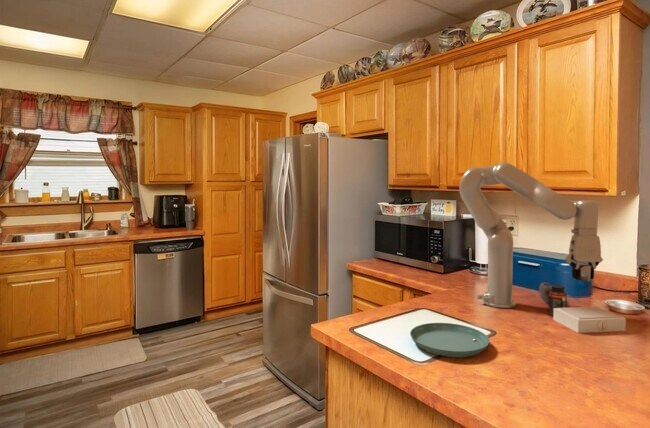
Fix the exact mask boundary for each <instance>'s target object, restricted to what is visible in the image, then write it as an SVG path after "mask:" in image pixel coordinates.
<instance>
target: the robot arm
mask: <svg viewBox="0 0 650 428" xmlns="http://www.w3.org/2000/svg"><path fill="white" fill-rule="evenodd" d="M501 184H502V185H503V186H505V187H506V188H508V189H510V190H511V191H512V192H514V193H516V194H517V195H519V196H521V197H522V198H524V199H525V200H527V201H529V202H531V203H533V204H534V205H535V204H536V205H537V206H539V207H540V208H542V209H544V210H545V211H546V212H549V213H550V214H552V215H553V216H554V217H556V218H557V219H559V220H563V221H565V220H566V221H567V220H568V221H569V220H571V219H574V221H573V229H571V233H572V235H571V239H570V242H569V247H568V248H569V249H568V255H567V256H566V257H565V259H564V261H565V262H566V263H567V264H568V265H569V266H570V268H571V269H572V270H571V272H572V273H571V278H573V279H575V280H576V279H580V269H579V266H580V263H586V264H590V265H591V280H594V278H595V270H596V269H597V267H598V265H599V264H601V263H602V262H603V261H604V259H603V258H602V249H601V247H602V246H601V245H602V244H601V240H600V236H599V235H598V224H599V206H600V205H599V203H598V201H596V200H589V199H586V200H583V199H581V200H570V199H568V198H566V197H564V196H563V195H561V194H560V193H558V192H556V191H554V190H553V189H551V188H550V187H548V186H547V185H545V184H544V183H543V182H542V181H540V180H538V179H536V178H535V177H533V176H531V175H530V174H528V173H526V172H524V171H523V170H521V169H520V168H518V167H517V166H515V165H513V164H511V163H510V162H500V163H499V164H495V165H489V166H482V167H471V168H468V170H466V171H465V172H464V173H463V175H462V177H461V179H460V181H459V186H458V189H459V195H460V198H461V199H462V201H463V203H464V206H465V207H466V209H467V210H468V212H469V215H471V217H472V218H473V220H474V222H475V224H476V226H477V227H478V228H480V229H481V230H482V231H483V234H484V235H485V236H486V237H487V239H488V240H487V291H484V293H483V294H476V295H475V296H476V297H475V298H476V299H477V300H482V301H483V304H485V305H487V306H489V307H493V308H498V309H499V308H500V309H511V308H515V307H516V306H517V302H516V301H515V300H513V267H514V266H513V265H514V264H513V262H514V261H513V260H514V259H513V258H514V257H513V256H514V237H513V234H512V232H511V230H510V229H509V227H508V226H507V224H506V223H505V222H504V219H503V218H502V216H501V215H500V213H499V212H498V211H497V209H495V208H493V207H492V206H491V204H490V203H489V201H488V200H487V198H486V196H485V195H484V193H483V191H482V189H481V188H482V187H486V186H494V185H495V186H496V185H501Z"/></svg>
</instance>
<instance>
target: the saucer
mask: <svg viewBox="0 0 650 428" xmlns="http://www.w3.org/2000/svg"><path fill="white" fill-rule="evenodd" d="M410 337H411V340H412V341H413V342H414V344H415V345H417V347H420V349H422V350H424V351H425V352H428V353H430V354H432V353H433V355H435V354H436V356H439V355H441V356H440V357H445V356H446V357H445V358H455V357H460V358H467V357H468V356H469V357H472V356H475V355H478V354H480V353H482V352H483V351H485V349H487V347H488V345H489V343H490V338H489V336H488V335H486V334H485V333H484V332H483V331H481V330H478V329H476V328H473V327H471V326H467V325H463V324H459V323H458V324H456V323H451V322H431V323H429V322H428V323H423V324H419V325H417V326H414V327H413V328H412V329H411V330H410ZM473 339H475V340H477V341H478V342H473Z"/></svg>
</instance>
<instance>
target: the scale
mask: <svg viewBox="0 0 650 428" xmlns="http://www.w3.org/2000/svg"><path fill="white" fill-rule="evenodd" d="M552 316H553V317H552V320H553V321H555V322H556V323H559V324H561V325H563V326H564V327H566V328H568V329H570V330H571V331H573V332H576V333H578V334H583V333H607V332H610V333H611V332H626V324H627V321H626V320H627V318H626V317H624V316H621V315H618V314H617V313H613V312H611V311H608V310H606V309H605V308H604V309H603V308H601V307H599V306H578V307H577V306H574V307H573V306H572V307H571V306H570V307H569V306H568V307H567V308H554V312H553V315H552Z"/></svg>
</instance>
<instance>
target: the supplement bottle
mask: <svg viewBox="0 0 650 428" xmlns="http://www.w3.org/2000/svg"><path fill="white" fill-rule="evenodd" d="M551 286H552V290H551V291H550V292H549V304H548V314H549V315H550V316H553V312H554V308H568V307H567V300H568V297H567V296H568V294H567V293H566V291H565V286H564V285H561V284H554V285H551Z"/></svg>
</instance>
